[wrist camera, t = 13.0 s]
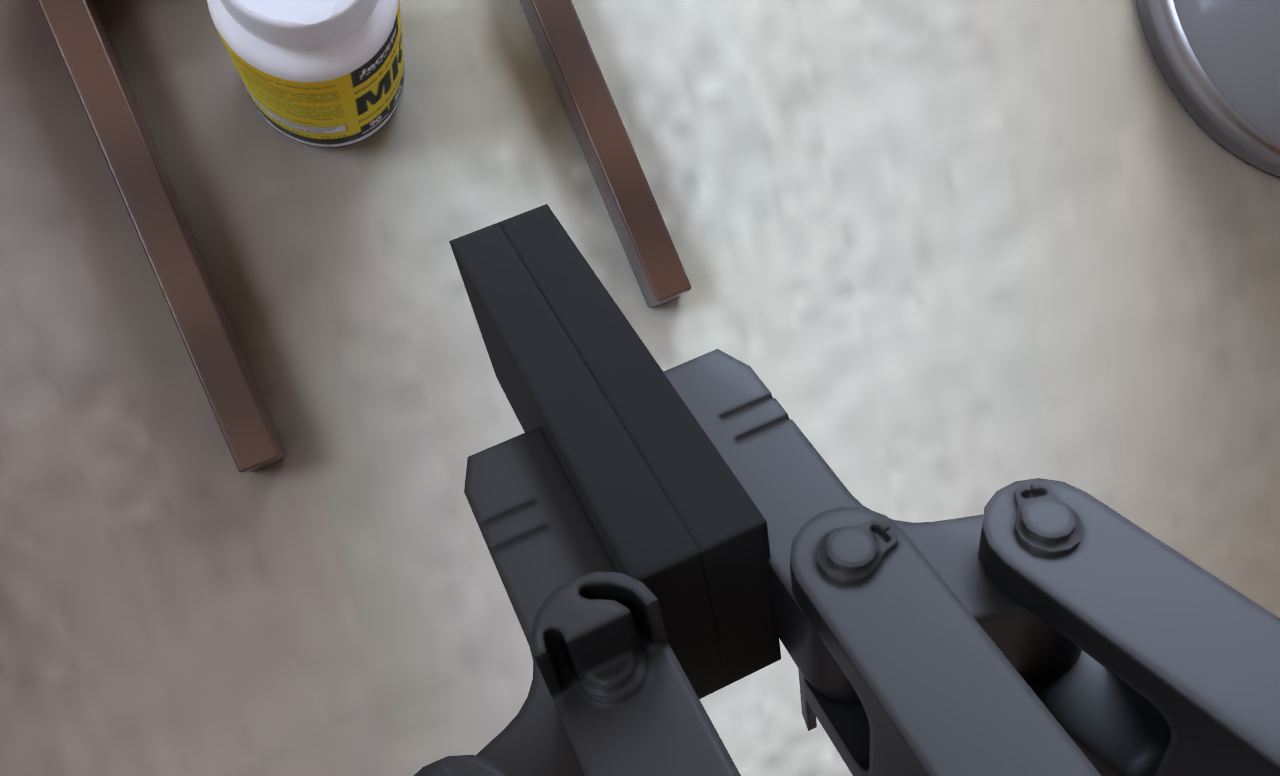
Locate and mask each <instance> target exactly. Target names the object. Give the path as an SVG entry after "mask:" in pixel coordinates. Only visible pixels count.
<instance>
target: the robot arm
mask: <svg viewBox="0 0 1280 776" xmlns="http://www.w3.org/2000/svg"><path fill="white" fill-rule="evenodd" d="M1136 3H1137V7H1138V12H1139V17H1140V20H1141V24H1142V27H1143V30H1144V33H1145V37H1146V40H1147V42H1148V44H1149V47H1150V49H1151V52H1152V54H1153V57H1154V59H1155V61H1156V63H1157V65H1158V67H1159V69H1160V71H1161V73H1162V75H1163V77H1164V78H1165V80H1166V81H1167V83H1168V85H1169V86H1170V88H1171V89H1172V91H1173V93H1174V94H1175V96H1176V97H1177V98H1178V100H1179V101H1180V102H1181V104H1182V105H1183V106H1184V108H1185V109H1186V110H1187V112H1188V113H1189V114H1190V115H1191V116H1192V117H1193V118H1194V119H1195V120H1196V122H1197V123H1198V124H1199V125H1200V126H1201V127H1202V128H1203V129H1204V130H1205V131H1206V132H1207V133H1208V134H1210V135H1211V136H1212V137H1213V138H1214V139H1215V140H1216V141H1217V142H1219V143H1220V144H1221V145H1223V146H1224V147H1225V148H1226V149H1228V150H1229V151H1230V152H1232V153H1233V154H1235V155H1236V156H1238V157H1240V158H1241V159H1243V160H1244V161H1246V162H1248V163H1250V164H1252V165H1253V166H1255V167H1257V168H1259V169H1261V170H1263V171H1266V172H1268V173H1271V174H1273V175H1276V176H1279V177H1280V0H1136ZM449 242H450V244H451V247H452V250H453V253H454V256H455V259H456V262H457V265H458V268H459V270H460V273H461V276H462V279H463V282H464V285H465V288H466V291H467V293H468V296H469V299H470V302H471V305H472V308H473V311H474V314H475V317H476V319H477V322H478V325H479V328H480V331H481V334H482V337H483V340H484V342H485V345H486V348H487V351H488V354H489V357H490V360H491V363H492V366H493V368H494V371H495V374H496V377H497V379H498V381H499V383H500V385H501V387H502V389H503V391H504V393H505V394H506V396H507V398H508V400H509V402H510V404H511V406H512V408H513V410H514V412H515V414H516V416H517V418H518V420H519V422H520V424H521V426H522V428H523V430H524V432H525V433H524V434H521V435H519V436H517V437H514V438H512V439H509V440H507V441H505V442H502V443H500V444H498V445H495V446H493V447H491V448H488V449H486V450H483V451H481V452H479V453H476V454H474V455H472V456H469V457H468V460H467V470H466V480H465V489H464V492H465V495H466V497H467V499H468V502H469V504H470V506H471V509H472V511H473V514H474V516H475V518H476V521H477V523H478V525H479V528H480V530H481V532H482V535H483V537H484V540H485V542H486V544H487V547H488V549H489V551H490V554H491V556H492V558H493V561H494V563H495V565H496V568H497V570H498V573H499V575H500V577H501V580H502V582H503V584H504V587H505V589H506V591H507V594H508V596H509V598H510V601H511V603H512V606H513V608H514V610H515V613H516V615H517V617H518V620H519V622H520V624H521V627H522V629H523V631H524V634H525V636H526V639H527V641H528V643H529V646H530V650H531V653H532V657H533V680H532V684H531V687H530V691H529V694H528V697H527V699H526V701H525V703H524V704H523V706H522V708H521V710H520V711H519V713H518V714H517V716H516V717H515V718H514V719H513V720H512V721H511V722H510V724H509V725H508V726H507V727H506V728H505V729H504V730H503V731H502V732H501V733H500V734H499V735H498V736H496V737H495V738H494V739H493V740H492V741H491V742H490V743H489V744H488V745H487V746H486V747H484V748H483V749H482V750H481V751H480V752H479V753H478V754H477V755H476V756H475V755H462V756H447V757H445V758H443V759H441V760H438V761H436V762H434V763H431V764H429V765H427V766H425V767H423V768H422V769H421V770H420V771H418V772H417V773H416V774H415V775H414V776H741V775H740V773H739V772H738V770H737V768H736V766H735V764H734V762H733V761H732V759H731V757H730V755H729V753H728V751H727V749H726V748H725V746H724V744H723V742H722V740H721V738H720V737H719V735H718V733H717V731H716V729H715V727H714V726H713V724H712V722H711V720H710V718H709V716H708V715H707V713H706V711H705V709H704V707H703V705H702V704H701V702H700V700H699V699H701V698H703V697H705V696H707V695H709V694H711V693H713V692H715V691H717V690H719V689H721V688H723V687H725V686H727V685H729V684H731V683H733V682H735V681H737V680H739V679H741V678H743V677H745V676H747V675H749V674H752V673H754V672H756V671H758V670H760V669H762V668H764V667H766V666H768V665H770V664H772V663H774V662H776V661H778V660H780V659H781V653H780V644H779V638H780V640H781V641H782V643H783V644H784V646H785V648H786V649H787V651H788V652H789V654H790V655H791V657H792V659H793V660H794V662H795V663H796V665H797V666H798V669H799V681H800V693H801V705H802V714H803V717H804V720H805V723H806V725H807V728H808V731H810V730H812V729H813V728H815V727H817V724H816V717H817V718H818V720H819V722H820V723H821V725H822V726H823V728H824V730H825V731H826V733H827V734H828V736H829V738H830V739H831V741H832V742H833V744H834V746H835V747H836V749H837V751H838V752H839V754H840V755H841V757H842V759H843V760H844V762H845V763H846V765H847V767H848V768H849V770H850V771H851V773H852V775H853V776H1280V619H1279V618H1278V617H1276V616H1274V615H1273V614H1271V613H1270V612H1268V611H1267V610H1265V609H1264V608H1262V607H1261V606H1259V605H1258V604H1256V603H1255V602H1253V601H1252V600H1250V599H1248V598H1247V597H1245V596H1244V595H1242V594H1241V593H1239V592H1238V591H1236V590H1235V589H1233V588H1232V587H1230V586H1229V585H1227V584H1226V583H1224V582H1222V581H1221V580H1219V579H1218V578H1216V577H1215V576H1213V575H1212V574H1210V573H1209V572H1207V571H1206V570H1204V569H1203V568H1201V567H1200V566H1198V565H1196V564H1195V563H1193V562H1192V561H1190V560H1189V559H1187V558H1186V557H1184V556H1183V555H1181V554H1180V553H1178V552H1177V551H1175V550H1174V549H1172V548H1170V547H1169V546H1167V545H1166V544H1164V543H1163V542H1161V541H1160V540H1158V539H1157V538H1155V537H1154V536H1152V535H1151V534H1149V533H1147V532H1146V531H1144V530H1143V529H1141V528H1140V527H1138V526H1137V525H1135V524H1134V523H1132V522H1131V521H1129V520H1128V519H1126V518H1125V517H1123V516H1121V515H1120V514H1118V513H1117V512H1115V511H1114V510H1112V509H1111V508H1109V507H1108V506H1106V505H1105V504H1103V503H1102V502H1100V501H1099V500H1097V499H1095V498H1094V497H1092V496H1091V495H1089V494H1088V493H1086V492H1084V491H1082V490H1080V489H1078V488H1075V487H1073V486H1071V485H1069V484H1067V483H1065V482H1060V481H1054V480H1047V479H1040V478H1037V479H1030V480H1023V481H1016V482H1014V483H1012V484H1010V485H1008V486H1006V487H1004V488H1002V489H1000V490H999V491H997V492H996V493H995V494H994V496H993V497H992V498H991V499H990V501H989V502H988V503H987V505H986V506H985V509H984V515H979V516H972V517H965V518H958V519H951V520H944V521H937V522H924V523H910V522H903V521H897V520H893V519H890V518H888V517H887V516H885V515H882V514H879V513H877V512H874V511H871V510H870V509H868V508H866V507H865V506H863V505H862V504H861V503H860V502H859V501H858V500H857V499H856V498H854V497H853V496H852V495H851V494H850V492H849V491H848V490H847V489H846V487H845V486H844V485H843V483H842V482H841V481H840V480H839V478H838V477H837V476H836V475H835V473H834V472H833V471H832V470H831V468H830V467H829V466H828V464H827V463H826V462H825V461H824V459H823V458H822V457H821V456H820V454H819V453H818V452H817V451H816V449H815V448H814V447H813V446H812V444H811V443H810V442H809V440H808V439H807V438H806V437H805V435H804V434H803V433H802V432H801V430H800V429H799V428H798V427H797V425H796V424H795V423H794V422H793V420H790V419H789V417H788V414H787V413H786V411H785V410H784V409H783V408H782V406H781V405H780V404H779V403H778V401H777V400H776V399H775V398H774V399H773V397H772V395H771V392H770V391H769V390H768V389H767V387H766V386H765V385H764V384H763V382H762V381H761V380H760V379H759V377H758V376H757V375H756V373H755V372H754V371H753V370H752V368H751V367H750V366H748V365H746V364H744V363H742V362H741V361H739V360H737V359H735V358H733V357H731V356H729V355H728V354H726V353H724V352H722V351H720V350H718V349H716V350H714V351H712V352H709V353H707V354H705V355H702V356H700V357H698V358H695V359H693V360H690V361H688V362H686V363H683V364H681V365H679V366H676V367H674V368H671V369H669V370H667V371H664V372H663V371H662V370H661V368H660V367H659V365H658V364H657V362H656V361H655V359H654V358H653V357H652V355H651V354H650V352H649V351H648V349H647V348H646V346H645V345H644V344H643V342H642V341H641V339H640V338H639V336H638V335H637V333H636V332H635V331H634V329H633V328H632V326H631V325H630V323H629V322H628V320H627V319H626V318H625V316H624V315H623V313H622V312H621V310H620V309H619V307H618V306H617V305H616V303H615V302H614V300H613V299H612V297H611V296H610V294H609V293H608V292H607V290H606V289H605V287H604V286H603V284H602V283H601V282H600V280H599V279H598V277H597V276H596V274H595V273H594V271H593V270H592V269H591V267H590V266H589V264H588V263H587V261H586V260H585V258H584V257H583V256H582V254H581V253H580V251H579V250H578V248H577V247H576V245H575V244H574V243H573V241H572V240H571V238H570V237H569V235H568V234H567V232H566V231H565V230H564V228H563V227H562V225H561V224H560V222H559V221H558V219H557V218H556V217H555V215H554V214H553V212H552V211H551V209H550V208H549V206H548V205H547V204H546V205H543V206H541V207H538V208H535V209H533V210H530V211H528V212H525V213H522V214H520V215H517V216H514V217H512V218H509V219H507V220H504V221H501V222H499V223H496V224H493V225H491V226H488V227H486V228H483V229H480V230H478V231H475V232H472V233H470V234H467V235H465V236H462V237H459V238H457V239H454V240H451V241H449Z"/></svg>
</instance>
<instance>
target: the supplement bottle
mask: <svg viewBox="0 0 1280 776" xmlns="http://www.w3.org/2000/svg"><path fill="white" fill-rule="evenodd" d="M207 3H208V8H209V12H210V15H211V18H212V20H213V23H214V25H215V27H216V29H217V31H218V33H219V35H220V37H221V38H222V40H223V42H224V44H225V46H226V48H227V50H228V52H229V54H230V56H231V58H232V60H233V62H234V64H235V66H236V68H237V70H238V72H239V74H240V76H241V78H242V80H243V83H244V85H245V87H246V89H247V91H248V93H249V95H250V97H251V99H252V101H253V103H254V104H255V106H256V108H257V109H258V111H259V112H260V113H261V114H262V116H263V117H264V118H265V119H266V120H267V121H268V122H269V123H270V124H271V125H272V126H273V127H274V128H276V129H277V130H278V131H280V132H281V133H283V134H284V135H286V136H288V137H290V138H292V139H294V140H297V141H299V142H302V143H305V144H309V145H314V146H322V147H336V146H344V145H348V144H352V143H355V142H358V141H360V140H363V139H365V138H367V137H369V136H370V135H372V134H373V133H375V132H376V131H377V130H379V129H380V128H381V127H382V126H383V125H384V124H385V123H386V122H387V121H388V119H389V118H390V117H391V115H392V114H393V112H394V111H395V109H396V107H397V105H398V103H399V100H400V97H401V94H402V90H403V83H404V59H403V46H402V33H401V22H400V6H399V0H207Z"/></svg>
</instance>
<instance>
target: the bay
mask: <svg viewBox="0 0 1280 776" xmlns="http://www.w3.org/2000/svg"><path fill="white" fill-rule="evenodd" d="M519 1H520V3H521V5H522V8H523V10H524V12H525V15H526V17H527V20H528V22H529V24H530V27H531V29H532V32H533V34H534V36H535V39H536V41H537V43H538V46H539V48H540V51H541V53H542V55H543V58H544V60H545V62H546V65H547V67H548V70H549V72H550V74H551V77H552V79H553V81H554V84H555V86H556V89H557V91H558V93H559V96H560V98H561V100H562V103H563V105H564V108H565V110H566V112H567V115H568V117H569V120H570V122H571V124H572V127H573V129H574V131H575V134H576V136H577V139H578V141H579V143H580V146H581V148H582V150H583V153H584V155H585V158H586V160H587V162H588V165H589V167H590V169H591V172H592V174H593V177H594V179H595V181H596V184H597V186H598V188H599V191H600V193H601V196H602V198H603V200H604V203H605V205H606V208H607V210H608V212H609V215H610V217H611V219H612V222H613V224H614V227H615V229H616V231H617V234H618V236H619V238H620V241H621V243H622V246H623V248H624V250H625V253H626V255H627V257H628V260H629V262H630V265H631V267H632V269H633V272H634V274H635V277H636V279H637V281H638V284H639V286H640V288H641V291H642V293H643V296H644V298H645V300H646V303H647V305H648V307H649V308H653V307H655V306H658V305H660V304H663V303H665V302H667V301H670V300H672V299H675V298H677V297H680V296H681V295H683V294H684V293H686V292H687V291H689V290H690V289H691V285H690V283H689V280H688V278H687V275H686V273H685V271H684V268H683V266H682V263H681V261H680V259H679V256H678V254H677V252H676V249H675V247H674V244H673V242H672V240H671V237H670V235H669V233H668V230H667V228H666V225H665V223H664V221H663V218H662V216H661V213H660V211H659V209H658V206H657V204H656V202H655V199H654V197H653V194H652V192H651V190H650V187H649V185H648V182H647V180H646V178H645V175H644V173H643V171H642V168H641V166H640V163H639V161H638V159H637V156H636V154H635V152H634V149H633V147H632V144H631V142H630V140H629V137H628V135H627V132H626V130H625V128H624V125H623V123H622V121H621V118H620V116H619V113H618V111H617V109H616V106H615V104H614V101H613V99H612V97H611V94H610V92H609V90H608V87H607V85H606V82H605V80H604V78H603V75H602V73H601V70H600V68H599V66H598V63H597V61H596V59H595V56H594V54H593V51H592V49H591V47H590V44H589V42H588V40H587V37H586V35H585V32H584V30H583V28H582V25H581V23H580V20H579V18H578V16H577V13H576V11H575V9H574V6H573V4H572V1H571V0H519ZM38 2H39V5H40V7H41V9H42V12H43V14H44V16H45V19H46V21H47V23H48V26H49V28H50V30H51V33H52V35H53V37H54V40H55V42H56V44H57V47H58V49H59V51H60V54H61V56H62V58H63V61H64V63H65V66H66V68H67V70H68V73H69V75H70V77H71V80H72V82H73V84H74V87H75V89H76V91H77V94H78V96H79V98H80V101H81V103H82V105H83V108H84V110H85V112H86V115H87V117H88V119H89V122H90V124H91V126H92V129H93V131H94V133H95V136H96V138H97V140H98V143H99V145H100V148H101V150H102V152H103V155H104V157H105V159H106V162H107V164H108V166H109V169H110V171H111V173H112V176H113V178H114V180H115V183H116V185H117V187H118V190H119V192H120V194H121V197H122V199H123V201H124V204H125V206H126V208H127V211H128V213H129V215H130V218H131V220H132V222H133V225H134V227H135V229H136V232H137V234H138V237H139V239H140V241H141V244H142V246H143V248H144V251H145V253H146V255H147V258H148V260H149V262H150V265H151V267H152V269H153V272H154V274H155V276H156V279H157V281H158V283H159V286H160V288H161V290H162V293H163V295H164V297H165V300H166V302H167V304H168V307H169V309H170V311H171V314H172V316H173V319H174V321H175V323H176V326H177V328H178V330H179V333H180V335H181V337H182V340H183V342H184V344H185V347H186V349H187V351H188V354H189V356H190V358H191V361H192V363H193V365H194V368H195V370H196V372H197V375H198V377H199V379H200V382H201V384H202V386H203V389H204V391H205V393H206V396H207V398H208V400H209V403H210V405H211V408H212V410H213V412H214V415H215V417H216V419H217V422H218V424H219V426H220V429H221V431H222V433H223V436H224V438H225V440H226V443H227V445H228V447H229V450H230V452H231V454H232V457H233V459H234V461H235V464H236V466H237V468H238V471H239V472H251V471H254V470H256V469H259V468H261V467H264V466H266V465H269V464H271V463H273V462H276V461H278V460H281V459H283V458H285V457H286V453H285V451H284V448H283V446H282V444H281V441H280V439H279V437H278V434H277V432H276V430H275V427H274V425H273V423H272V420H271V418H270V416H269V413H268V411H267V408H266V406H265V404H264V401H263V399H262V397H261V394H260V392H259V390H258V387H257V385H256V383H255V380H254V378H253V376H252V373H251V371H250V369H249V366H248V364H247V362H246V359H245V357H244V355H243V352H242V350H241V347H240V345H239V343H238V340H237V338H236V336H235V333H234V331H233V329H232V326H231V324H230V322H229V319H228V317H227V315H226V312H225V310H224V308H223V305H222V303H221V301H220V298H219V296H218V293H217V291H216V289H215V286H214V284H213V282H212V279H211V277H210V275H209V272H208V270H207V268H206V265H205V263H204V261H203V258H202V256H201V254H200V251H199V249H198V247H197V244H196V242H195V240H194V237H193V235H192V232H191V230H190V228H189V225H188V223H187V221H186V218H185V216H184V214H183V211H182V209H181V207H180V204H179V202H178V200H177V197H176V195H175V193H174V190H173V188H172V186H171V183H170V181H169V179H168V176H167V174H166V171H165V169H164V167H163V164H162V162H161V160H160V157H159V155H158V153H157V150H156V148H155V146H154V143H153V141H152V139H151V136H150V134H149V132H148V129H147V127H146V125H145V122H144V120H143V118H142V115H141V113H140V110H139V108H138V106H137V103H136V101H135V99H134V96H133V94H132V92H131V89H130V87H129V85H128V82H127V80H126V78H125V75H124V73H123V71H122V68H121V66H120V64H119V61H118V59H117V57H116V54H115V52H114V49H113V47H112V45H111V42H110V40H109V38H108V35H107V33H106V31H105V28H104V26H103V24H102V21H101V19H100V17H99V14H98V12H97V10H96V7H95V5H94V3H93V0H38Z"/></svg>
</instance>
